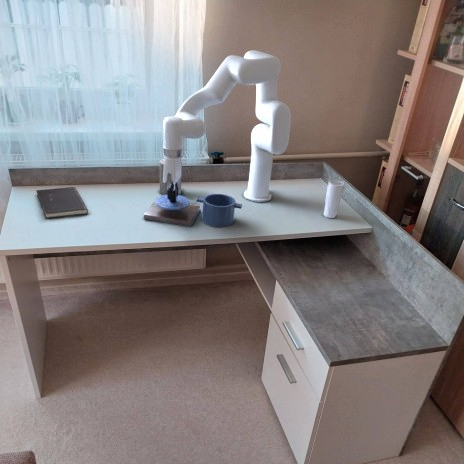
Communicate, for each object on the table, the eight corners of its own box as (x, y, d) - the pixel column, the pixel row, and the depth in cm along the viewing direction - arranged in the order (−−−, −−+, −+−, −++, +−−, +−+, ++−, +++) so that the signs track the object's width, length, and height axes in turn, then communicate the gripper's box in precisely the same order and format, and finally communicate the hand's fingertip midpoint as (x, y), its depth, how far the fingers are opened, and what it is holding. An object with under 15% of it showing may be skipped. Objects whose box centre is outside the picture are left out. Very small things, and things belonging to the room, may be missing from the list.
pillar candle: (155, 193, 212) (155, 159, 204) (166, 186, 220) (166, 153, 211) (175, 198, 210) (175, 164, 201) (185, 190, 217) (186, 158, 209)
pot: (200, 210, 202) (200, 190, 197) (242, 216, 200) (244, 197, 195) (192, 222, 192) (193, 202, 187) (237, 230, 190) (239, 210, 185)
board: (156, 203, 204) (156, 199, 203) (200, 210, 202) (200, 205, 201) (143, 219, 191) (143, 214, 190) (190, 226, 189) (190, 221, 188)
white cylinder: (338, 214, 210) (345, 181, 202) (335, 220, 205) (343, 187, 196) (323, 211, 212) (330, 178, 203) (320, 217, 207) (327, 183, 198)
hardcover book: (45, 218, 184) (45, 213, 183) (36, 195, 200) (36, 190, 199) (88, 214, 190) (87, 208, 189) (76, 191, 207) (75, 186, 205)
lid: (161, 195, 200) (161, 179, 196) (193, 200, 199) (194, 184, 195) (150, 208, 189) (150, 192, 185) (184, 213, 187) (185, 197, 184)
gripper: (170, 144, 188) (169, 189, 199) (157, 157, 175) (157, 204, 186) (188, 147, 188) (187, 191, 198) (177, 160, 174) (176, 207, 185)
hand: (172, 197), depth 192 cm, fingers closed on lid, 2 cm apart
